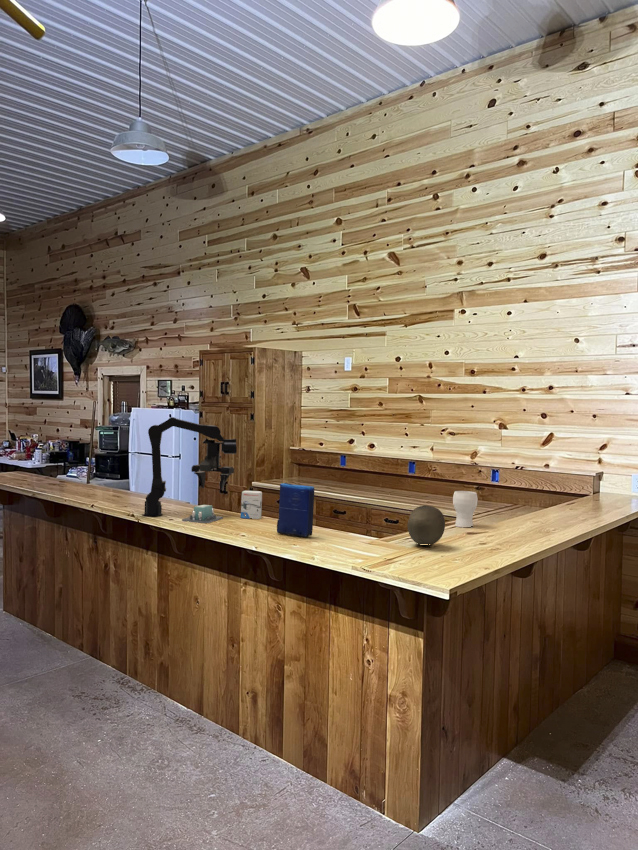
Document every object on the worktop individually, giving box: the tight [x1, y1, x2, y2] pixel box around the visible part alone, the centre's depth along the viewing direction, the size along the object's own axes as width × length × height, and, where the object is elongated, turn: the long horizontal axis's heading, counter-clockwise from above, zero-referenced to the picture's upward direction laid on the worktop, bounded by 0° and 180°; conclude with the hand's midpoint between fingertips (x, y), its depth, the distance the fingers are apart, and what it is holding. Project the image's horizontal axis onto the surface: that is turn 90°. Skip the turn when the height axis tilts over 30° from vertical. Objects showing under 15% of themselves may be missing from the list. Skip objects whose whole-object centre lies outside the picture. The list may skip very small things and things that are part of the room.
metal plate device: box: [181, 507, 224, 524], centre depth 276 cm, size 12×14×4 cm
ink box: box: [240, 490, 263, 520], centre depth 284 cm, size 9×5×12 cm, turn 84°
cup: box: [452, 490, 479, 528], centre depth 282 cm, size 11×11×15 cm
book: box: [276, 482, 315, 538], centre depth 248 cm, size 14×5×20 cm, turn 62°
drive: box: [193, 504, 213, 520], centre depth 276 cm, size 4×8×5 cm, turn 161°
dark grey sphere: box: [407, 504, 446, 546], centre depth 236 cm, size 14×14×15 cm
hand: (212, 488), depth 287 cm, fingers open, 9 cm apart
